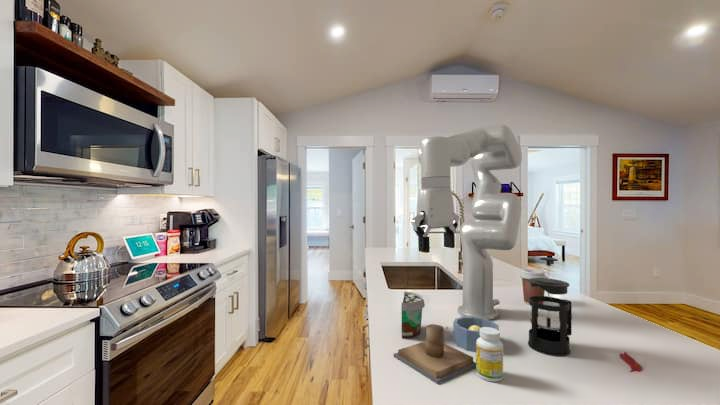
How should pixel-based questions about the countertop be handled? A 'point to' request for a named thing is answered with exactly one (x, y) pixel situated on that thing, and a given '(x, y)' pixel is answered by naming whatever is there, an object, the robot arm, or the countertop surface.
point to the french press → (546, 329)
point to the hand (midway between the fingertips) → (437, 249)
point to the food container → (411, 314)
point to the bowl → (469, 331)
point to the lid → (435, 354)
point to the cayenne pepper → (631, 362)
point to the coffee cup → (527, 288)
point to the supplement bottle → (489, 355)
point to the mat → (441, 378)
